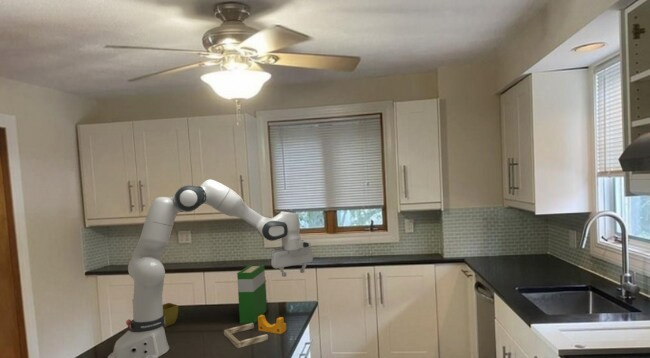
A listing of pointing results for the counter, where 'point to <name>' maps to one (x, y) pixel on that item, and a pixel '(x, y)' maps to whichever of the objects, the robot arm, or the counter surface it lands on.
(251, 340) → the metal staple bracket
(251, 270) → the hardback book
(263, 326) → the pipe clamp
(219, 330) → the counter surface
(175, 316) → the flower pot
